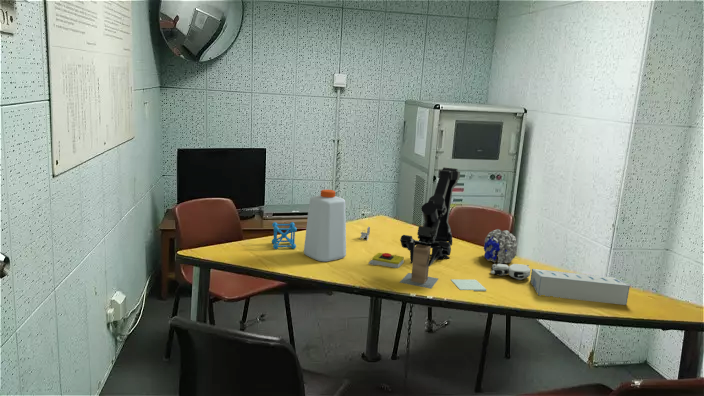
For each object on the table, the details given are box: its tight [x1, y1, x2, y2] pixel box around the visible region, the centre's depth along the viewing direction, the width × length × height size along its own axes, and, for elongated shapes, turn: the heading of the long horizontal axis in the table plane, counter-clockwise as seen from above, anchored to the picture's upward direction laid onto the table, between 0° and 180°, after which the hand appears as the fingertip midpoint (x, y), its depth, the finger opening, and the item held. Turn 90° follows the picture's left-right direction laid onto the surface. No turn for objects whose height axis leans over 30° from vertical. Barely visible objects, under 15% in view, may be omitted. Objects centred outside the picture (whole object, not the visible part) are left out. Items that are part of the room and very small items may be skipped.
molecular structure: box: [271, 221, 298, 250], centre depth 217 cm, size 10×10×10 cm
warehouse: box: [529, 268, 630, 306], centre depth 182 cm, size 30×14×8 cm, turn 81°
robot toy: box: [490, 263, 531, 281], centre depth 197 cm, size 12×4×15 cm
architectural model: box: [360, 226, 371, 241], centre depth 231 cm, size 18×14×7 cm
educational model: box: [483, 228, 518, 264], centre depth 216 cm, size 14×20×15 cm
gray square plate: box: [399, 272, 439, 289], centre depth 185 cm, size 12×12×1 cm
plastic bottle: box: [303, 189, 347, 263], centre depth 205 cm, size 15×15×28 cm
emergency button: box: [368, 252, 405, 269], centre depth 203 cm, size 9×4×15 cm
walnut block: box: [411, 244, 432, 284], centre depth 183 cm, size 5×5×13 cm
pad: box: [450, 278, 487, 292], centre depth 183 cm, size 10×10×1 cm
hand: (419, 264), depth 182 cm, fingers open, 6 cm apart
